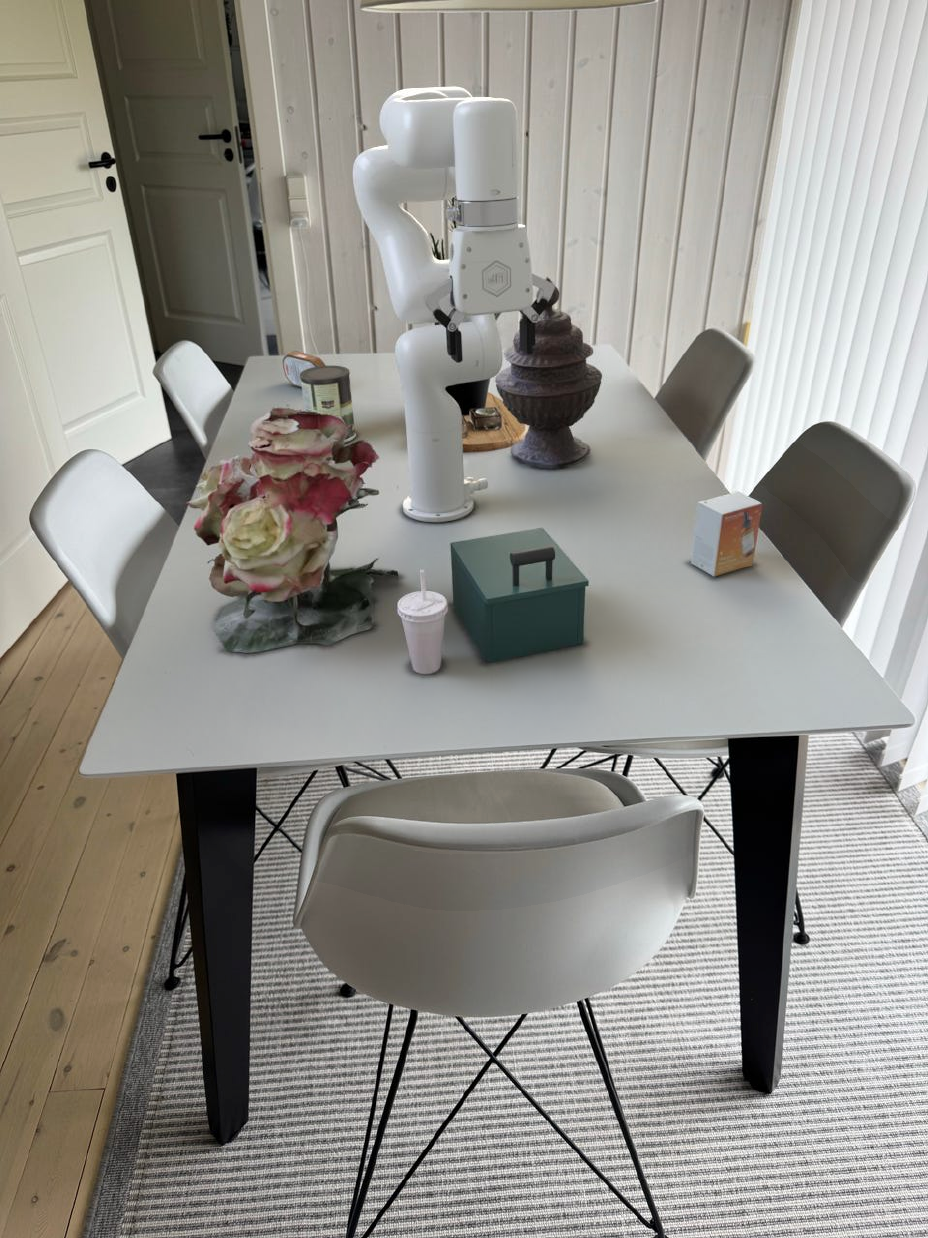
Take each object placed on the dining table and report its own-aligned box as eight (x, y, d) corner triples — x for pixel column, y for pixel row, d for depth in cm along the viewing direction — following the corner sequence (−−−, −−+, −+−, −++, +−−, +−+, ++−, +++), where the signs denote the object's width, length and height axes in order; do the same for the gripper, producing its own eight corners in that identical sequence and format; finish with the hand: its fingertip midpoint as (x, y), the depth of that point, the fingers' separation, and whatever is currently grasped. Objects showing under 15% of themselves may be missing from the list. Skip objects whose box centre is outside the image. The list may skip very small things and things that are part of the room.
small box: (713, 578, 136) (721, 514, 131) (689, 563, 141) (696, 501, 135) (754, 565, 139) (763, 502, 134) (729, 551, 144) (737, 489, 138)
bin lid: (588, 586, 117) (590, 548, 114) (486, 604, 113) (485, 566, 111) (542, 532, 130) (542, 497, 127) (450, 547, 127) (448, 512, 124)
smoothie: (458, 658, 120) (454, 565, 113) (437, 684, 115) (431, 589, 108) (416, 648, 123) (409, 557, 115) (393, 673, 118) (384, 579, 110)
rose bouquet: (222, 570, 144) (185, 384, 128) (405, 567, 142) (390, 379, 127) (173, 661, 122) (121, 450, 106) (388, 659, 121) (368, 444, 105)
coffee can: (342, 425, 200) (335, 362, 193) (364, 438, 193) (358, 372, 186) (299, 436, 195) (291, 371, 188) (321, 449, 188) (312, 382, 181)
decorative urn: (594, 431, 189) (594, 257, 169) (609, 475, 173) (611, 287, 153) (497, 439, 190) (486, 267, 170) (503, 484, 173) (491, 298, 153)
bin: (583, 643, 122) (585, 583, 117) (486, 663, 119) (484, 601, 114) (541, 589, 135) (542, 532, 130) (453, 605, 132) (450, 547, 127)
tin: (332, 391, 222) (328, 357, 217) (322, 395, 220) (318, 360, 215) (292, 381, 230) (288, 347, 226) (283, 384, 228) (278, 350, 224)
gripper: (427, 223, 106) (435, 370, 114) (565, 212, 110) (563, 355, 118) (412, 217, 112) (421, 357, 120) (542, 206, 116) (542, 342, 124)
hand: (491, 355), depth 119 cm, fingers open, 9 cm apart
